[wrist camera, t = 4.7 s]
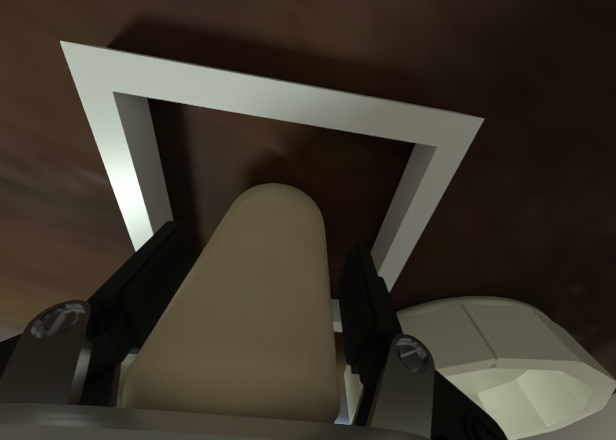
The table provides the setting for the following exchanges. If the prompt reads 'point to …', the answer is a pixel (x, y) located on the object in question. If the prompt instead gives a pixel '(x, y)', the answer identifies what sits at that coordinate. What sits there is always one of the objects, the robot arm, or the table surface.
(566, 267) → the table surface
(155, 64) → the white square frame
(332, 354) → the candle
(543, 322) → the bowl
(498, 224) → the table surface
